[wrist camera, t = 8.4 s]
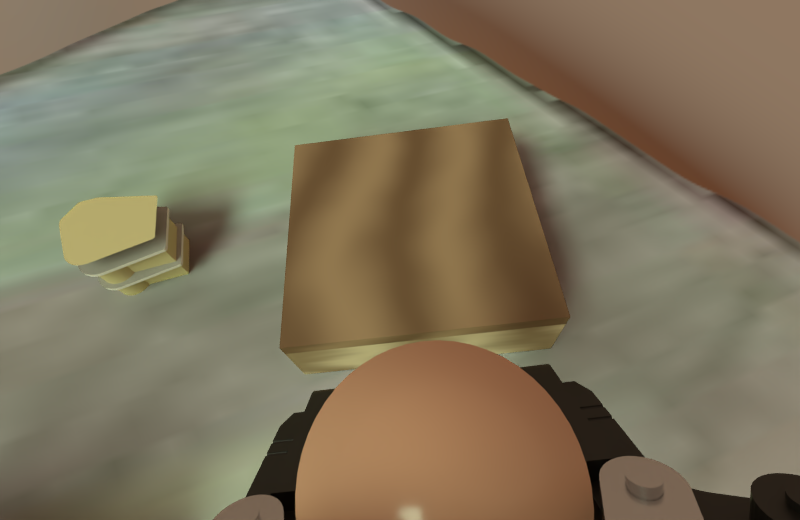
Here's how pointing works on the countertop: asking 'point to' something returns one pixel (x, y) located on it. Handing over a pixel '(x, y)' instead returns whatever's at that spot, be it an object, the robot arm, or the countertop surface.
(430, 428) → the peach domed capsule
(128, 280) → the stacked layers on plate
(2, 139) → the countertop surface
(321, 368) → the plinth
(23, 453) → the countertop surface
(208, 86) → the countertop surface
